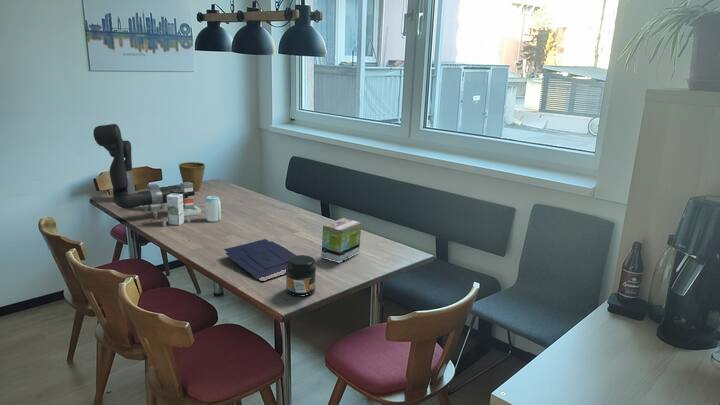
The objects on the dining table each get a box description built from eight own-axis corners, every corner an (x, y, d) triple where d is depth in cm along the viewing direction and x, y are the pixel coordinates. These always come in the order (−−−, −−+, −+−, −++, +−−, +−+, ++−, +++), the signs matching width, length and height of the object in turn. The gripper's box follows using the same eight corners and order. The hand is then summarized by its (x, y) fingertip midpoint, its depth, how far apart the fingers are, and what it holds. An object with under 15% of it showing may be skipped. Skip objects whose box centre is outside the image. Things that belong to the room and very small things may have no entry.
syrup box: (184, 222, 251) (183, 193, 248) (179, 225, 246) (177, 196, 242) (173, 221, 252) (171, 192, 248) (167, 224, 246) (166, 195, 242)
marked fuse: (181, 207, 265) (180, 182, 261) (190, 206, 268) (189, 181, 264) (185, 209, 261) (184, 184, 258) (193, 208, 264) (193, 183, 261)
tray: (174, 212, 266) (174, 207, 265) (193, 209, 272) (193, 204, 272) (182, 217, 259) (182, 212, 258) (201, 214, 265) (201, 209, 265)
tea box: (340, 264, 209) (341, 230, 205) (320, 258, 214) (321, 225, 210) (360, 254, 221) (361, 221, 217) (340, 248, 226) (342, 216, 222)
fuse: (148, 208, 270) (146, 184, 266) (157, 207, 273) (155, 183, 269) (151, 210, 267) (149, 186, 263) (160, 209, 270) (159, 185, 266)
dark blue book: (268, 243, 225) (269, 236, 223) (311, 272, 205) (312, 264, 204) (218, 256, 208) (219, 248, 207) (261, 289, 189) (261, 280, 187)
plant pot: (175, 192, 304) (173, 165, 300) (187, 186, 319) (186, 161, 314) (198, 194, 302) (197, 167, 298) (209, 188, 316) (209, 163, 312)
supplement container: (299, 300, 176) (300, 268, 173) (279, 290, 183) (279, 259, 179) (321, 291, 184) (322, 260, 180) (301, 282, 190) (302, 252, 187)
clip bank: (136, 210, 265) (135, 206, 265) (165, 206, 275) (165, 202, 274) (159, 227, 242) (159, 222, 242) (190, 221, 252) (190, 217, 251)
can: (203, 220, 255) (202, 197, 252) (213, 217, 261) (212, 194, 258) (213, 223, 252) (213, 199, 248) (223, 219, 258) (223, 196, 255)
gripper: (164, 192, 247) (197, 187, 258) (153, 186, 258) (186, 182, 269) (164, 207, 249) (198, 202, 260) (154, 200, 259) (186, 196, 270)
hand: (192, 192), depth 264 cm, fingers closed on marked fuse, 4 cm apart
